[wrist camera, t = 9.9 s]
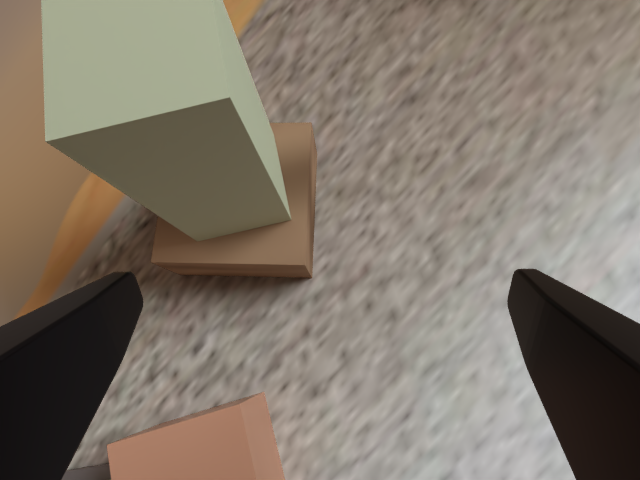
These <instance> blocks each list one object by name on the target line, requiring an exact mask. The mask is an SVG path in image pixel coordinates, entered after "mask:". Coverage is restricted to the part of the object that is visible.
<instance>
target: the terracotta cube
mask: <svg viewBox="0 0 640 480" xmlns="http://www.w3.org/2000/svg"><path fill="white" fill-rule="evenodd" d="M107 450H108V458H109V466H110V474H111V480H285V477H284V473H283V469H282V465H281V460H280V456H279V452H278V448H277V444H276V440H275V435H274V431H273V427H272V423H271V419H270V414H269V410H268V406H267V402H266V398H265V394H264V392H262V393H258V394H255V395H252V396H249V397H245V398H242V399H239V400H236V401H232V402H229V403H226V404H223V405H219V406H216V407H213V408H210V409H207V410H203V411H200V412H197V413H194V414H190V415H187V416H184V417H181V418H177V419H174V420H171V421H168V422H164V423H161V424H158V425H156V426H153V427H151V428H148V429H146V430H143V431H141V432H138V433H136V434H133V435H130V436H128V437H125V438H123V439H120V440H118V441H115V442H113V443H110V444H108V445H107Z"/></svg>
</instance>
